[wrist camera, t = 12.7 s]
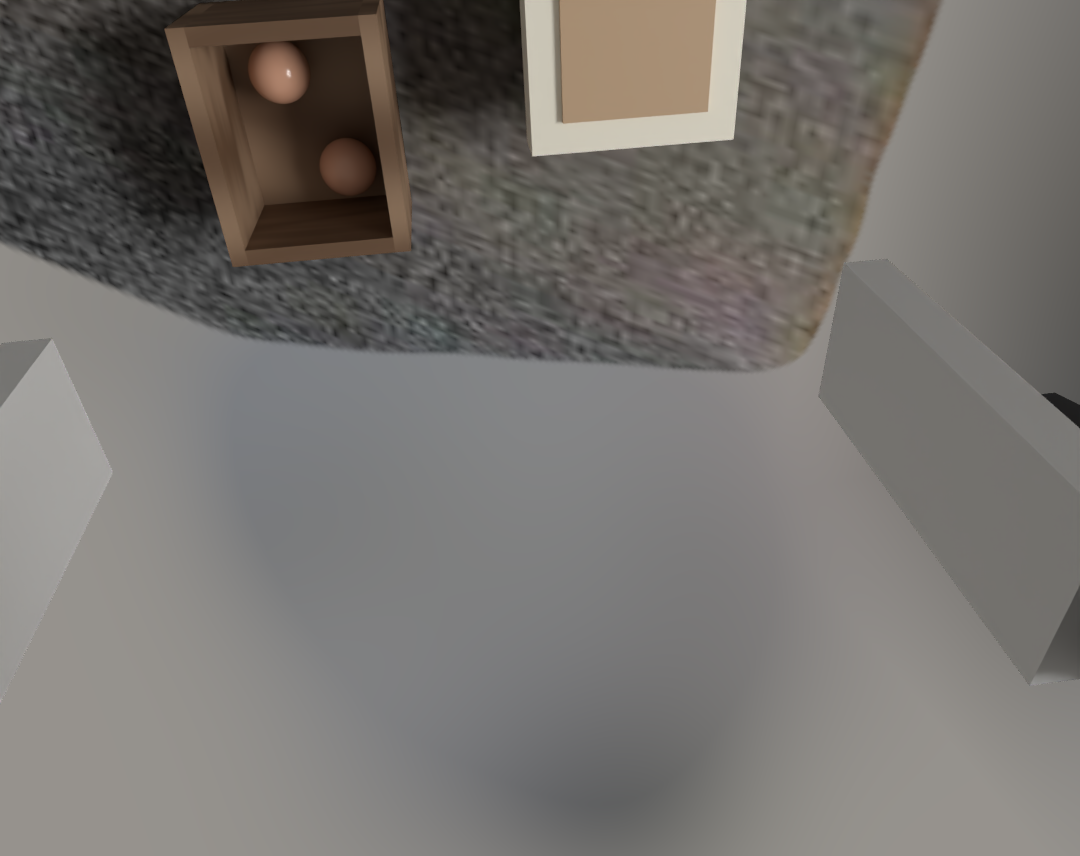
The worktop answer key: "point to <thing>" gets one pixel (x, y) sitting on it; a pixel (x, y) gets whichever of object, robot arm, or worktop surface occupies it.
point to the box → (295, 128)
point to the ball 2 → (347, 166)
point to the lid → (629, 72)
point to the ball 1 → (279, 71)
